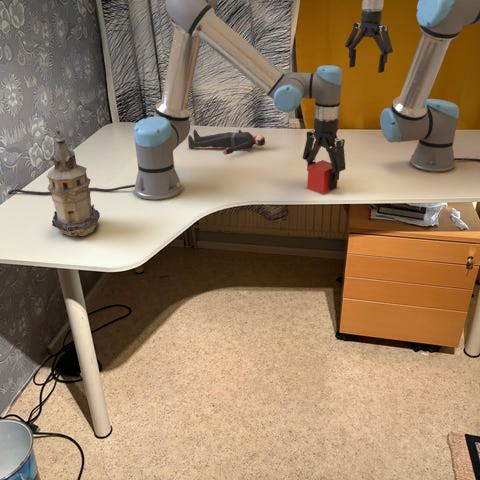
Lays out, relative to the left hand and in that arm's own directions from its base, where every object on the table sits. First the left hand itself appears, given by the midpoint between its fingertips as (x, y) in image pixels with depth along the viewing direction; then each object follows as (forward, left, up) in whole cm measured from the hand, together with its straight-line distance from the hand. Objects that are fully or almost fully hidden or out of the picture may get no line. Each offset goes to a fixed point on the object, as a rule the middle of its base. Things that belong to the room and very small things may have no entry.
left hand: (322, 184), depth 178 cm
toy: (-28, +43, -1) cm, 52 cm away
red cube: (0, 0, -1) cm, 1 cm away
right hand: (+26, +47, +27) cm, 60 cm away
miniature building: (-77, -20, -1) cm, 79 cm away
